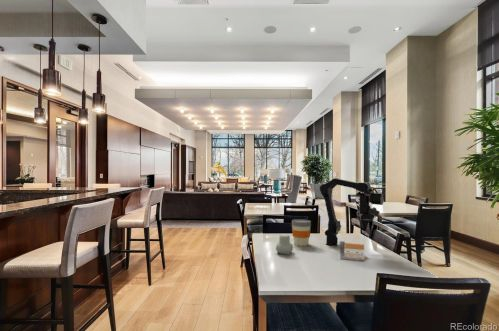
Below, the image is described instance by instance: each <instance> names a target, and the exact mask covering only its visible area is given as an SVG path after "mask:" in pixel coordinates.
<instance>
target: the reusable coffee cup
mask: <svg viewBox="0 0 499 331" xmlns="http://www.w3.org/2000/svg"><path fill="white" fill-rule="evenodd" d="M311 226H312V221H311V220H308V219H302V218H301V219H299V218H297V219H296V218H295V219H292V220H291V227H292V228H291V232H292V237H293V243H294V245H295V246H303V247H304V246H308V245H309V241H310V240H309V239H310V237H311Z"/></svg>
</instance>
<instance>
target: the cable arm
mask: <svg viewBox="0 0 499 331" xmlns="http://www.w3.org/2000/svg"><path fill="white" fill-rule="evenodd" d="M340 248H341V249H345V248H346V249H358V250H362V251H364V250H365V244H364V243H355V242H346V241H343V240H341V241H340V240H339V249H340Z"/></svg>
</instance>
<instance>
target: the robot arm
mask: <svg viewBox="0 0 499 331" xmlns="http://www.w3.org/2000/svg"><path fill="white" fill-rule="evenodd" d="M337 186H342V187H345V188H351V189H354V190H356V191H357V193H355V195H356V196H359V198H358V200H359V201H358V202H359V204H358V210H357V211H356V216H357V218H358V221H359V224H360V226H361V228H362V229H363V231H365V232H366V231H367V228H368V225H369V223H370V222H371V221H372V220H373V216H374V217H379V216H380V213H381V211H380V210H377V208H376V207H375V206H374V207H371V205H378V206H383V205H384V199H385V198H384V195H383V193H382V192H379V193H377V192H376V193H375V192H374V190H373V189H372V186H371V184H370V183H368V182H363V181H362V182H355V181H350V180H345V179H340V178H335V177H334V178H332V179H331V180H329V181H327V182H325V183H324V184H321V185H320V186H319V191H320V194H321V196H322V197H323V198H324V203H325V208H326V214H327V218H328V222H327V229H326V230H325V231H324V235H325V236H326V245H325V246H333V247H337V246H338V243H339V242H338V239H339V237H338V236H337V235H338V233H339V232H340V231H341V227H342V225H341V220H338V219H337V217H336V212H335V207H334V203H333V198H332V196H333V189H334V188H336V187H337ZM370 203H371V205H370ZM372 215H373V216H372Z"/></svg>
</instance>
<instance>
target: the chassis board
mask: <svg viewBox="0 0 499 331" xmlns="http://www.w3.org/2000/svg"><path fill="white" fill-rule="evenodd" d="M339 254H340V259H341V260H348V261H349V260H350V261H358V262H365V261H366V260H365V256H364V253H363V250H358V249H346V248H345V249H341V248H340V247H339Z"/></svg>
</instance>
